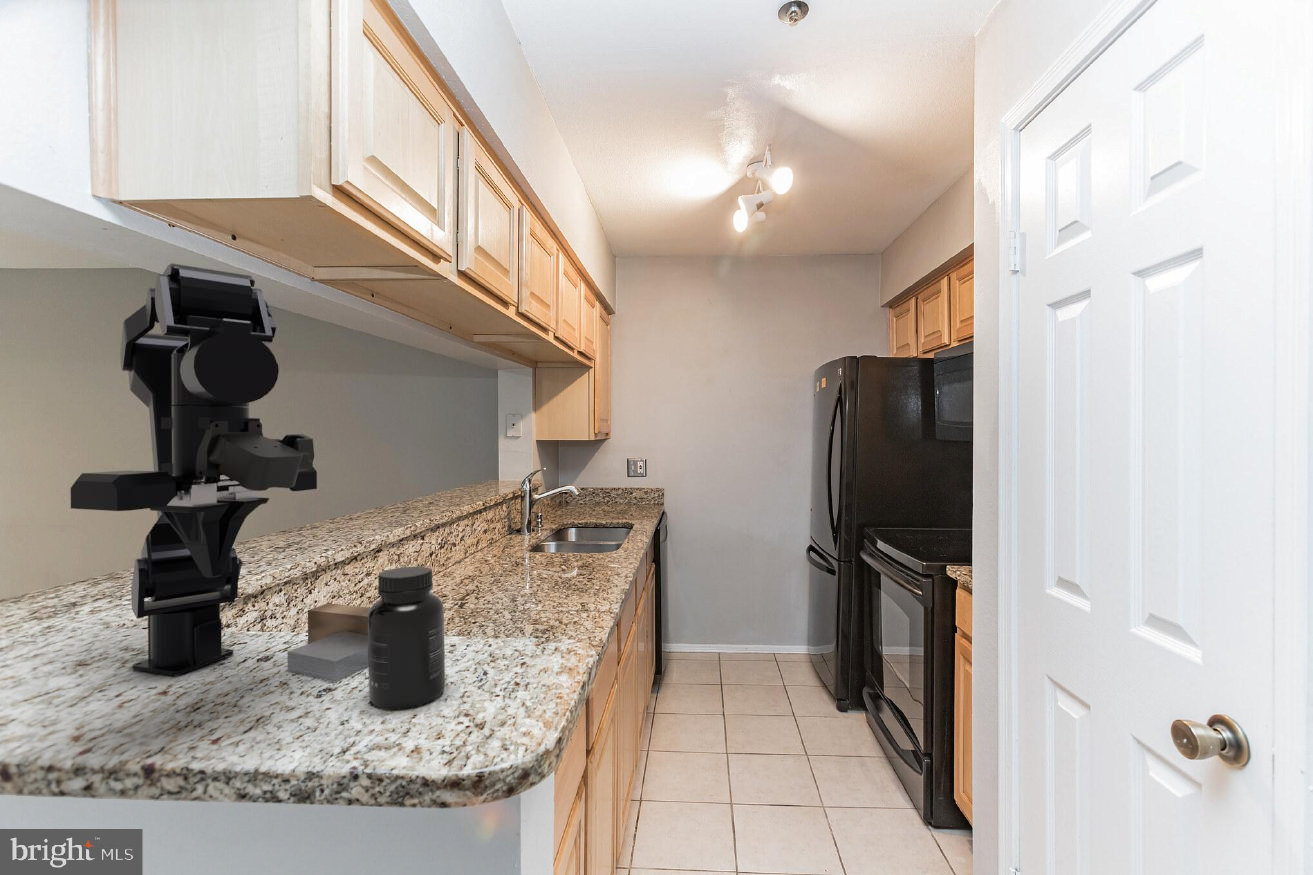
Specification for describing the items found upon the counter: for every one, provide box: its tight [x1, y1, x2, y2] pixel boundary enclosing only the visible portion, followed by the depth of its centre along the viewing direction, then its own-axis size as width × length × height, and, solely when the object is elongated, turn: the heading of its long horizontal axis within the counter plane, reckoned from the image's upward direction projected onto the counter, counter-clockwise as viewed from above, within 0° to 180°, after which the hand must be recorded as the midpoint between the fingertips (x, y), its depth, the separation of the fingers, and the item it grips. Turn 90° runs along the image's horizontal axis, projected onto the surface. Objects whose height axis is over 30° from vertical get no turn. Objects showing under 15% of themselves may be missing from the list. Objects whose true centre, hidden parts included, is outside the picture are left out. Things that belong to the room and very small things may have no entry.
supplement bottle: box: [367, 566, 446, 710], centre depth 58 cm, size 7×7×12 cm
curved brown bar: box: [307, 603, 371, 644], centre depth 72 cm, size 14×3×4 cm, turn 74°
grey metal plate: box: [287, 631, 368, 683], centre depth 66 cm, size 7×7×2 cm
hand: (212, 576), depth 56 cm, fingers closed
